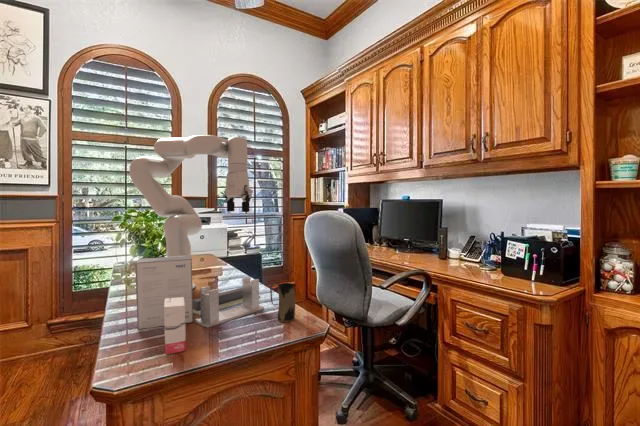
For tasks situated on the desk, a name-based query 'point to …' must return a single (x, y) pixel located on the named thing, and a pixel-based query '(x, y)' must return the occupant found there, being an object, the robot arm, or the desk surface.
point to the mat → (223, 305)
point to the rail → (222, 298)
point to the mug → (285, 302)
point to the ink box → (174, 325)
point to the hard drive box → (162, 288)
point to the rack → (214, 317)
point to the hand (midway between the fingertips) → (238, 211)
